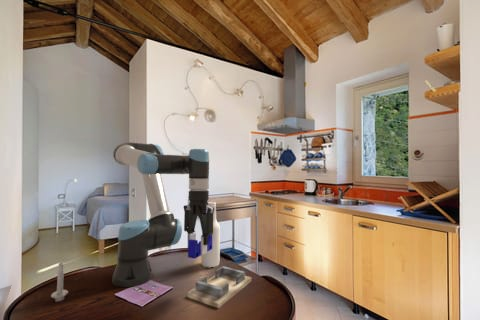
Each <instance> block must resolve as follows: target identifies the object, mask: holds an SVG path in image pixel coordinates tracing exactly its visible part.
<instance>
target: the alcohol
mask: <svg viewBox="0 0 480 320" xmlns="http://www.w3.org/2000/svg"><path fill="white" fill-rule="evenodd" d="M207 202H208V206H209V207H211V208H212V207H214V212H213V234H212V249H211V250H209V251H208V252H207V253H205V254H203V255H201V256H200V257H201V260H200V261H201V263H200V264H201V265H202V266H203V267H205V268H207V267H208V268H209V269H210V268H211V267H213V268H216V267H218V266H219V264H220V262H221V261H220V257H221V254H220V253H221V225H220V224H219V222H218V221H217V209H216V207H217V205H216V204H217V202H216V201H207ZM201 235H203V234H202V233H201ZM211 269H212V268H211Z"/></svg>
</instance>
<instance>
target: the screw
mask: <svg viewBox="0 0 480 320" xmlns="http://www.w3.org/2000/svg"><path fill="white" fill-rule="evenodd" d="M64 271H65V269H64V262H62V261H60V262H59V263H58V270H57V275H56V276H57V280H56V281H57V282H56V283H57V284H56V291H54V292H52V293H51V295H50V297H51V298H53V299H54V301H55V302H56V303H57V302H62V301H64V300H65V296H67V295H68V294H69V291H68V290H67V289H64V274H65V272H64Z"/></svg>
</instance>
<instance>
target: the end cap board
mask: <svg viewBox="0 0 480 320" xmlns="http://www.w3.org/2000/svg"><path fill="white" fill-rule="evenodd" d="M252 279H253V278H252V276H247V275H246V271H243V270H241V269H240V270H239V269H236V268H231V267H228V266H225V265H224V266H223V265H222V266H221V267H219V268H217V269H216V270H215V274H214V275H213V276H212V277H210V278H209V279H208V276H204V277H201V279H199V280H197V281H195V286H194V288H192V289H191V290H189V291H187V292H186V297H187V298H189V299H191V300H194V301H197V302H200V303H203V304H205V305H208V306H211V307H214V308H215V309H216V308H217V309H220V308H221V307H222V306H223V305H224V304H226V303H228V301H230V300H231V299H232V298H233V297H234V296H235V295H237V294H238V293H239V292H240V291H241V290H242V289H244V288H245V287H246V286H248V284H249V283H251V282H252Z"/></svg>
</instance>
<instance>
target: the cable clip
mask: <svg viewBox="0 0 480 320" xmlns="http://www.w3.org/2000/svg"><path fill="white" fill-rule="evenodd" d="M187 245H188V246H187V258H189V259H197V258H198V257H202V255H201V240H199V241H198V240H197V239H196V240H192V239H190V240H188V241H187ZM211 249H212V234H211V235H209V239H208V245H207V252H208V251H209V250H211Z"/></svg>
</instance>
